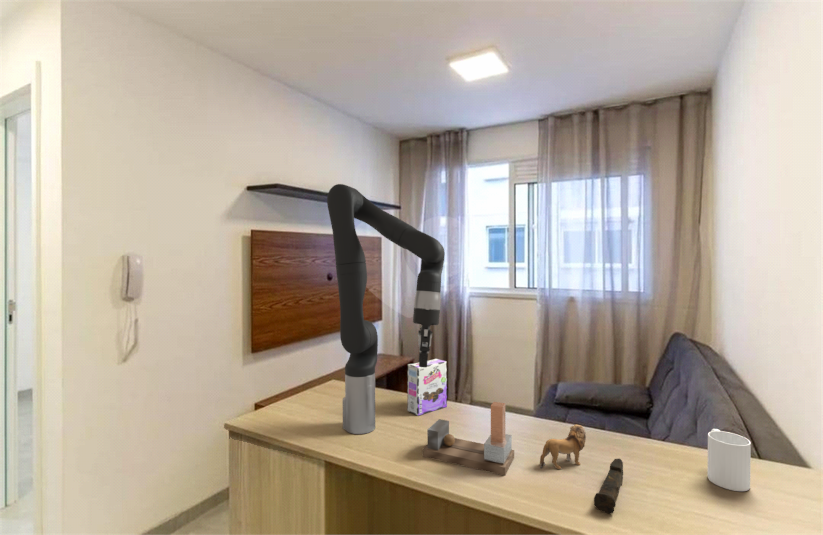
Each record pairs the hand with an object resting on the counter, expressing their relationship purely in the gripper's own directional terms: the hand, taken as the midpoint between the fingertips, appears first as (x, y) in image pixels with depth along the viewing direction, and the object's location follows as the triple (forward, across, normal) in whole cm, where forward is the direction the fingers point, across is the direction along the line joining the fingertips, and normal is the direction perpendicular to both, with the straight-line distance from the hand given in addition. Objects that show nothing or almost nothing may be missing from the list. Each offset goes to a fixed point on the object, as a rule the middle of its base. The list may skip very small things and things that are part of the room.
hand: (422, 365), depth 116 cm
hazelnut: (+20, +3, +9) cm, 22 cm away
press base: (+22, +5, +14) cm, 27 cm away
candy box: (+19, -29, +4) cm, 35 cm away
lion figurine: (+21, +8, +38) cm, 44 cm away
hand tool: (+22, +21, +44) cm, 53 cm away
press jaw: (+20, +9, +21) cm, 30 cm away
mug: (+18, +16, +73) cm, 77 cm away
